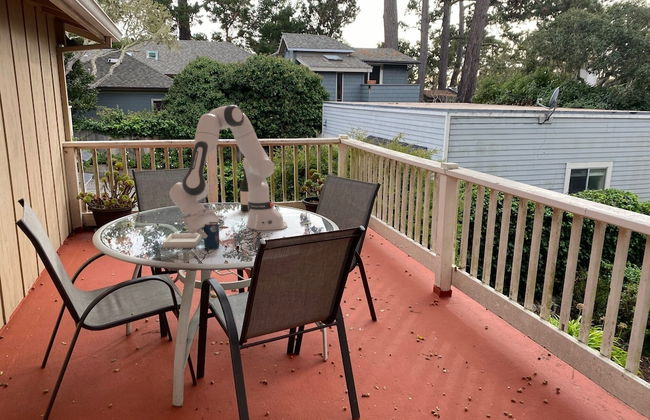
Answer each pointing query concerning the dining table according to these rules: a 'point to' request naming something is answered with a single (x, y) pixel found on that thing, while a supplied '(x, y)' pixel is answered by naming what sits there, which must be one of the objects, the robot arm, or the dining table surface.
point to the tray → (182, 240)
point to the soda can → (211, 236)
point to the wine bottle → (244, 193)
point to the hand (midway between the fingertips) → (212, 234)
